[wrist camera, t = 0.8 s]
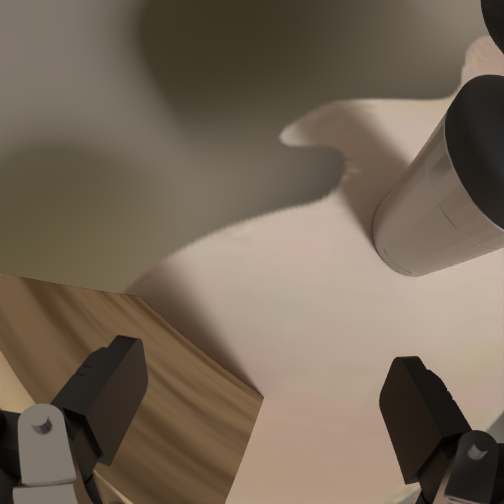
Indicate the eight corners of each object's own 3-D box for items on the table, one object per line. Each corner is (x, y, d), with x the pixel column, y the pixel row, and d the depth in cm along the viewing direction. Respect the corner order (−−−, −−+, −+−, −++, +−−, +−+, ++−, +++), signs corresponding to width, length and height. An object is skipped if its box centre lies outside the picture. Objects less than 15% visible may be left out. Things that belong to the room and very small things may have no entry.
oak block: (138, 296, 31) (-60, 258, 8) (263, 397, 27) (192, 575, 5) (100, 355, 30) (-80, 372, 8) (213, 453, 27) (104, 605, 4)
